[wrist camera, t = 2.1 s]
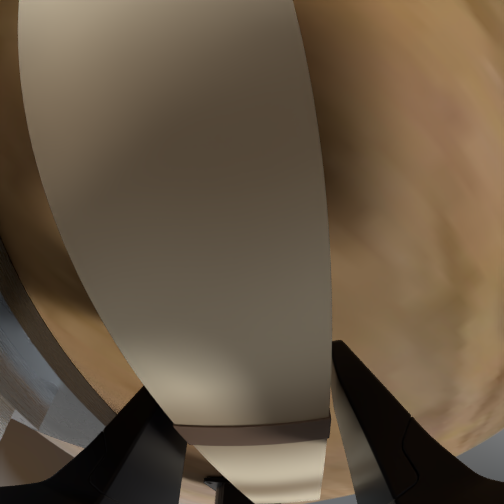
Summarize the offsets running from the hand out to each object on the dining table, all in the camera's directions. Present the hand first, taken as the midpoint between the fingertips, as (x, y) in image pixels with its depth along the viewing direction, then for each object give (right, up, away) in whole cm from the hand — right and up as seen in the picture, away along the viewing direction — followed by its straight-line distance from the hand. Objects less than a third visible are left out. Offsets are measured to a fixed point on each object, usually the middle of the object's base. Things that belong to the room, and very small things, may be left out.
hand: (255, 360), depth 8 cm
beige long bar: (0, +1, +1) cm, 1 cm away
